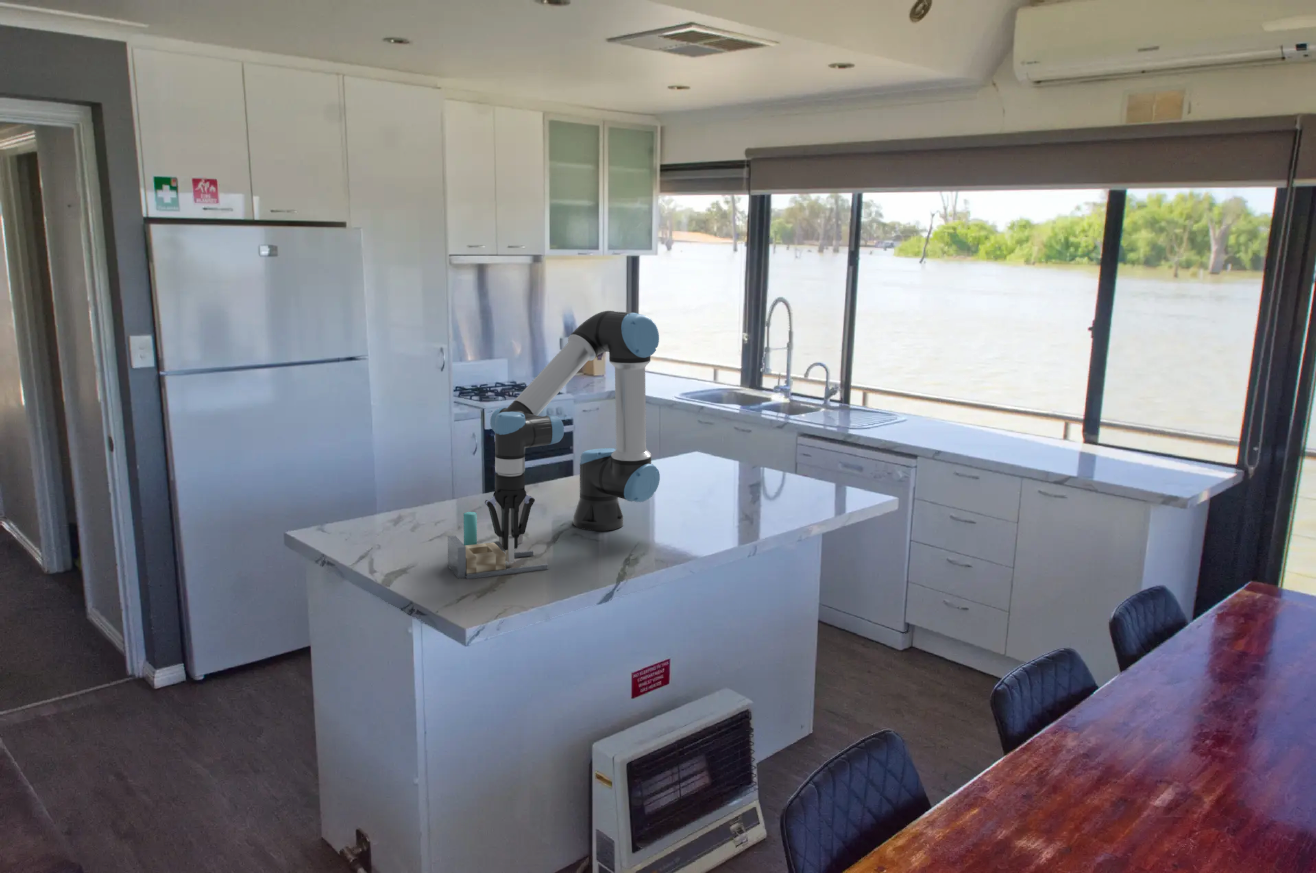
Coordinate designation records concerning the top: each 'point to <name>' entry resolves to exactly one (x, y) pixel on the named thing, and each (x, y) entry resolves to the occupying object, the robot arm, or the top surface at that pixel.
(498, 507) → the coffee cup
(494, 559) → the block
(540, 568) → the backstop
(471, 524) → the dowel
